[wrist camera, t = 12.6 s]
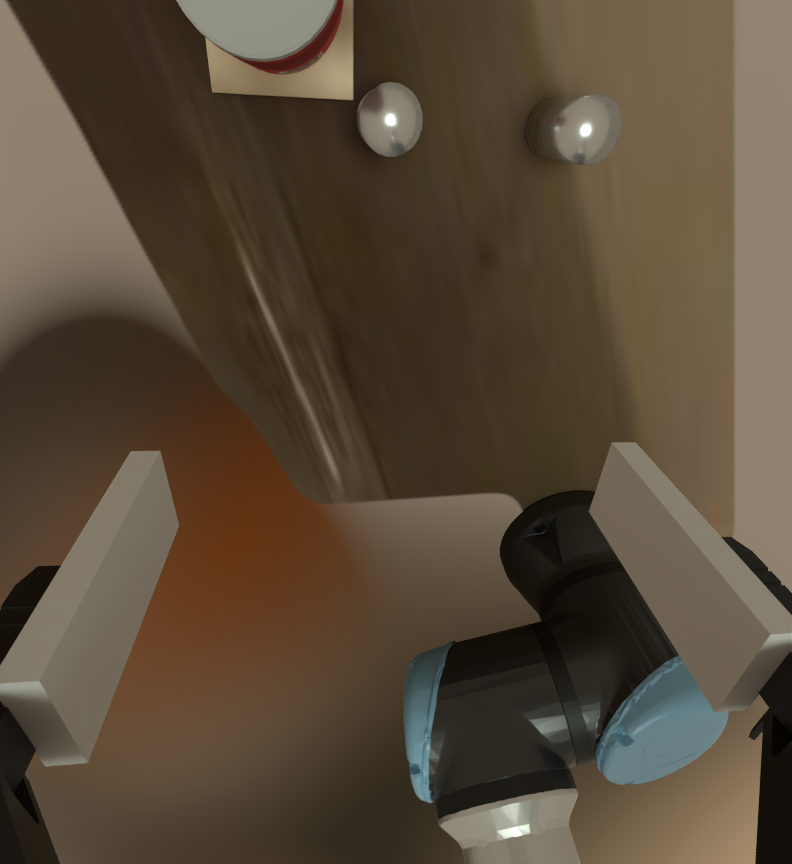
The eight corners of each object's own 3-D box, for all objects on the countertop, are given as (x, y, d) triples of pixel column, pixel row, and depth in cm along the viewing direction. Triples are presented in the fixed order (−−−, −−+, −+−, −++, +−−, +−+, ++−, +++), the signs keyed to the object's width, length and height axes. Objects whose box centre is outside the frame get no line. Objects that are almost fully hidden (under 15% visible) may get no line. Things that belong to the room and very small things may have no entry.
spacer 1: (406, 150, 35) (420, 158, 30) (355, 148, 35) (359, 155, 29) (409, 89, 34) (424, 84, 28) (355, 86, 33) (359, 80, 27)
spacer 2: (568, 157, 37) (612, 166, 31) (520, 155, 36) (556, 163, 30) (580, 99, 35) (629, 96, 29) (530, 96, 34) (569, 93, 29)
